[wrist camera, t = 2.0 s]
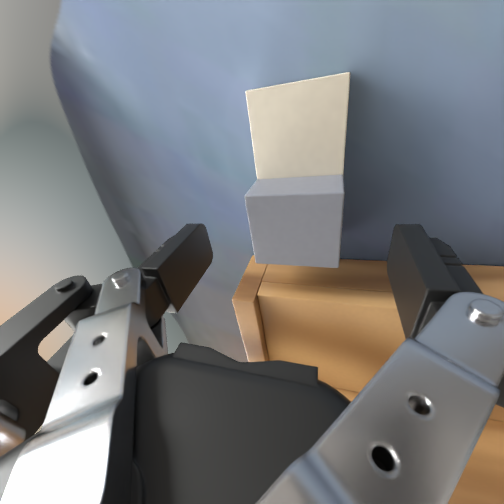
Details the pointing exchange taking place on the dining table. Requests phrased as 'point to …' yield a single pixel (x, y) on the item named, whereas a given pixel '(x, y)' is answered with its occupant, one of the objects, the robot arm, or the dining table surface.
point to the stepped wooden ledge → (353, 339)
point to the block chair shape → (298, 171)
